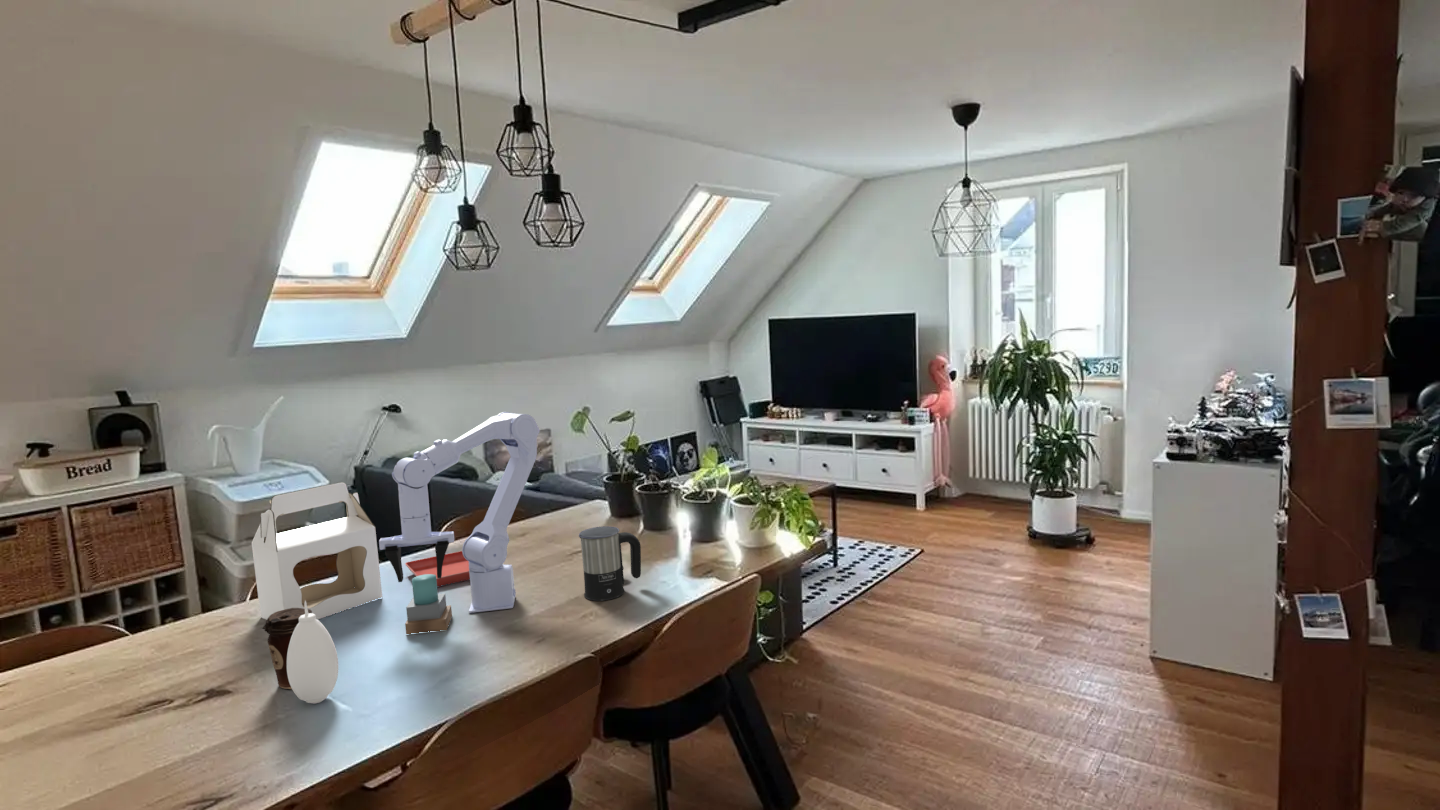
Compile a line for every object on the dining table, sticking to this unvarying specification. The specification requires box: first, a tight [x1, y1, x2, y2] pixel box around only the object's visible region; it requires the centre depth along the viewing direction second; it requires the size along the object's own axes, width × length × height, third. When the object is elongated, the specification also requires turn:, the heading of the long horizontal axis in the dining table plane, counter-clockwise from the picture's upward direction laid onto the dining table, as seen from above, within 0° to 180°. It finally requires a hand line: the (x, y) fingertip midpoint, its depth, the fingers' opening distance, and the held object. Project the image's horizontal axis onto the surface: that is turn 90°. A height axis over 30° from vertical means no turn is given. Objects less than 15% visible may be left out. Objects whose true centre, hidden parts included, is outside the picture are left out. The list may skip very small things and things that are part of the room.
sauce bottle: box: [287, 601, 339, 705], centre depth 136 cm, size 8×8×18 cm
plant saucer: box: [404, 550, 470, 587], centre depth 201 cm, size 18×18×3 cm
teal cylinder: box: [411, 574, 439, 605], centre depth 167 cm, size 5×5×5 cm
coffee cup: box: [262, 608, 317, 690], centre depth 144 cm, size 9×8×13 cm
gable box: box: [251, 481, 383, 621], centre depth 181 cm, size 22×13×28 cm, turn 141°
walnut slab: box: [404, 604, 453, 634], centre depth 168 cm, size 8×8×3 cm
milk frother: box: [578, 525, 642, 602], centre depth 185 cm, size 14×16×15 cm
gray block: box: [405, 593, 447, 621], centre depth 168 cm, size 6×6×3 cm
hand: (420, 578), depth 167 cm, fingers open, 7 cm apart
